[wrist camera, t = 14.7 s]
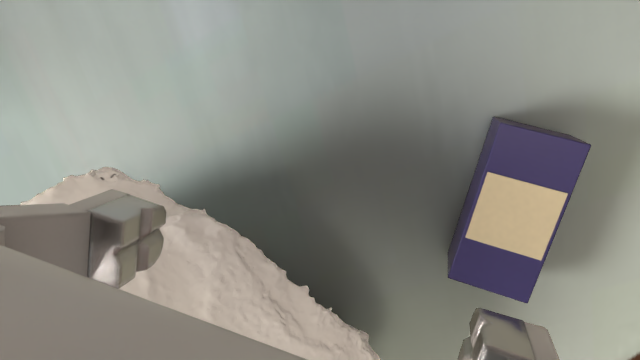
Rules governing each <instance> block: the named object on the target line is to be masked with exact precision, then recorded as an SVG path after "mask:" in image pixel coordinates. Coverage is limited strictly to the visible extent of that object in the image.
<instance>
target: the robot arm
mask: <svg viewBox="0 0 640 360" xmlns="http://www.w3.org/2000/svg"><path fill="white" fill-rule="evenodd" d="M165 223H166V210H165V208H164V206H162V205H159V204H156V203H153V202H150V201H147V200H144V199H141V198H138V197H135V196H132V195H130V194H128V193H124V192H121V191H117V190H113V189H111V190H108V191H105V192H103V193H100V194H97V195H94V196H91V197H89V198H86V199H83V200H80V201H78V202H75V203H72V204H69V205H67V204H64V203H56V204H31V205H6V206H0V360H307V359H305V358H302V357H299V356H297V355H294V354H291V353H289V352H286V351H283V350H281V349H278V348H275V347H272V346H270V345H267V344H264V343H262V342H259V341H256V340H254V339H251V338H248V337H246V336H243V335H240V334H238V333H235V332H232V331H230V330H227V329H224V328H222V327H219V326H216V325H214V324H211V323H208V322H206V321H203V320H200V319H198V318H195V317H192V316H190V315H187V314H184V313H182V312H179V311H176V310H174V309H171V308H168V307H165V306H163V305H160V304H157V303H155V302H152V301H149V300H147V299H144V298H141V297H139V296H136V295H133V294H131V293H128V292H125V291H123V290H120V289H119V288H121V287H122V286H124V285H125V284H127V283H128V282H130V281H131V280H133V279H134V278H135V274H136V272H138V271H144V270H147V269H149V268H150V267H151V266H153V265H154V264H155V262H156V261H157V259H158V258H159V256H160V254H161V251H162V248H163V242H164V238H163V235H162V233H161V231H160V228H161V227H162V226H163V225H164V224H165ZM469 325H470V336H469V337H468V338H466V339H464V340H463V343H462V346H461V349H460V352H459V356H458V360H559V357H558V355H557V352H556V349H555V347H554V344H553V342H552V339H551V337H550V334H549V332H548V330H547V329H546V328H545V327H541V326H538V325H534V324H530V323H527V322H524V321H522V320H519V319H516V318H512V317H509V316H505V315H502V314H499V313H495V312H492V311H489V310H485V309H482V308H476V309H475V311H474V313H473V315H472V318H471V321H470V323H469Z"/></svg>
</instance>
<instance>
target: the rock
mask: <svg viewBox="0 0 640 360" xmlns="http://www.w3.org/2000/svg"><path fill="white" fill-rule="evenodd" d="M63 180H64V181H63V182H60V183H58V184H57V185H56V186H54V187H50V188H49V189H47V190H45V191H44V192H42V193H40V194H37V195H36V196H35V197H34V198H32V199H31V200H29V201H26V202H21V204H20V205H31V204H56V203H64V204H67V205H69V204H72V203H75V202H78V201H80V200H83V199H86V198H89V197H91V196H94V195H97V194H100V193H103V192H105V191H108V190H111V189H113V190H117V191H121V192H124V193H128V194H130V195H132V196H135V197H138V198H141V199H144V200H147V201H150V202H153V203H156V204H159V205H162V206H164V208H165V210H166V223H165V224H164V225H163V226H162V227H161V228H160V231H161V233H162V235H163V238H164V242H163V248H162V251H161V254H160V256H159V258H158V259H157V261H156V262H155V264H154V265H153V266H151V267H150V268H149V269H147V270H144V271H138V272H136V274H135V278H134V279H133V280H131V281H130V282H128V283H127V284H125V285H124V286H122V287H121V288H119V289H120V290H123V291H125V292H128V293H131V294H133V295H136V296H139V297H141V298H144V299H147V300H149V301H152V302H155V303H157V304H160V305H163V306H165V307H168V308H171V309H174V310H176V311H179V312H182V313H184V314H187V315H190V316H192V317H195V318H198V319H200V320H203V321H206V322H208V323H211V324H214V325H216V326H219V327H222V328H224V329H227V330H230V331H232V332H235V333H238V334H240V335H243V336H246V337H248V338H251V339H254V340H256V341H259V342H262V343H264V344H267V345H270V346H272V347H275V348H278V349H281V350H283V351H286V352H289V353H291V354H294V355H297V356H299V357H302V358H305V359H307V360H381V359H380V357H379V356H378V355H377V353H376V352H375V351H373V350H372V348H371V346H370V345H369V344H368V342H369V341H368V340H369V335H368V334H367V333H365V331H361V330H360V331H358V330H357V329H356V328H354V327H352V326H350V325H347V324H345V323H344V322H342V319H340V318H339V317H338V315H337V314H334V313H332V312H331V310H332V308H331V307H330V308H329V309H325V308H324V307H323V306H322V305H320V304H317V303H316V302H315V300H314V299H315V298H314V297H310V296H309V288H308V286H301V287H299V286H297V285H295V284H294V283H292V282H291V281H290V280H288V279H287V276H286V271H285V270H283V269H280V268H279V267H278V266H277V265H276V263H274V262H272V261H271V260H270V259H268V258H266V257H265V256H264V254H263V252H262V250H261V249H258V248H257V247H256V246H255V244H254V243H252V242H251V241H250V240H249V239H247V238H246V237H242V236H241V235H240V234H239V233H238V232H237V231H236V230H234V229H233V228H230V227H229V226H227V225H226V224H222V223H220V222H217V221H216V220H215V219H214V218H212V217H210V216H209V215H207V213H206V210H205V209H203V210H198V209H190V208H187V207H184V206H183V205H179V204H177V203H176V202H175V201H174V200H173V199H171V198H169V197H168V196H165V195H164V193H163V192H162V191H161V189H159V187H160V185H159V184H153V183H151V182H149V180H146V181H145V180H144V179H143V180H142V181H136V180H133V179H131V178H130V177H128V176H127V175H125V174H124V173H123V172H121V171H120V170H118V169H115V168H111V167H103V168H100V169H98V170H91V171H90V172H89V173H87V174H85V175H80V176H74V175H70V176H68V177H64V178H63Z"/></svg>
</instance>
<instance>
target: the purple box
mask: <svg viewBox="0 0 640 360" xmlns="http://www.w3.org/2000/svg"><path fill="white" fill-rule="evenodd" d="M590 147H591V145H590V144H588V143H586V142H584V141H582V140H579V139H577V138H575V137H573V136H571V135H567V134H563V133H559V132H555V131H551V130H547V129H542V128H538V127H534V126H530V125H526V124H522V123H518V122H514V121H510V120H506V119H502V118H498V117H493V119H492V122H491V125H490V128H489V131H488V134H487V137H486V140H485V143H484V146H483V149H482V152H481V155H480V158H479V161H478V164H477V167H476V170H475V173H474V176H473V179H472V182H471V184H470V187H469V190H468V193H467V196H466V199H465V202H464V205H463V208H462V211H461V214H460V217H459V220H458V223H457V226H456V229H455V232H454V235H453V238H452V241H451V244H450V247H449V250H448V278H450V279H453V280H457V281H460V282H463V283H466V284H469V285H472V286H475V287H478V288H481V289H484V290H487V291H490V292H494V293H497V294H500V295H503V296H506V297H509V298H512V299H515V300H518V301H521V302H524V303H528V301H529V298H530V296H531V294H532V291H533V289H534V286H535V284H536V281H537V279H538V276H539V274H540V271H541V269H542V266H543V264H544V261H545V259H546V256H547V254H548V251H549V249H550V246H551V244H552V241H553V239H554V236H555V234H556V231H557V229H558V227H559V224H560V222H561V219H562V217H563V214H564V212H565V209H566V207H567V204H568V202H569V199H570V197H571V194H572V192H573V189H574V187H575V184H576V182H577V179H578V177H579V174H580V172H581V169H582V167H583V164H584V162H585V159H586V157H587V155H588V152H589V150H590Z"/></svg>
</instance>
